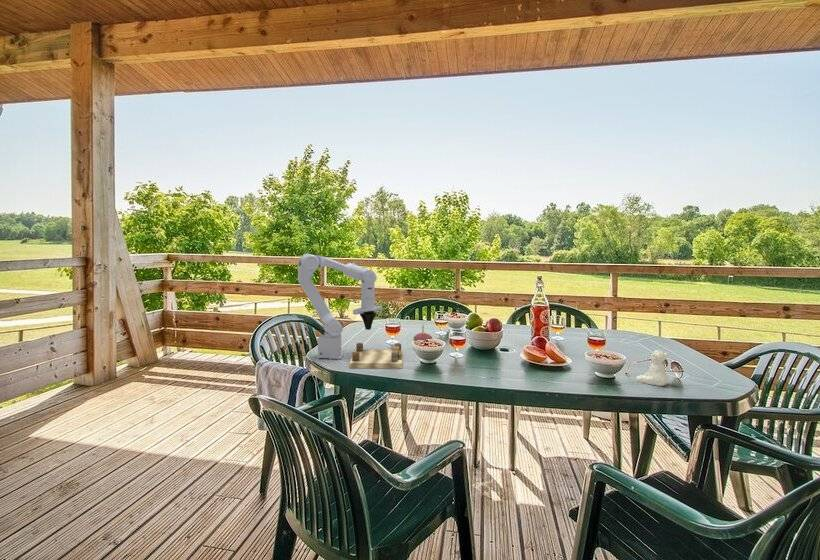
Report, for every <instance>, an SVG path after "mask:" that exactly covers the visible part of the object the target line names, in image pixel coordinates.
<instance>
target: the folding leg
mask: <svg viewBox="0 0 820 560" xmlns="http://www.w3.org/2000/svg"><path fill="white" fill-rule="evenodd" d="M391 350H392V353H391V360H392V361H397V360H398V356H399V346H395V345H394V346H393V347H392V349H391Z"/></svg>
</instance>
